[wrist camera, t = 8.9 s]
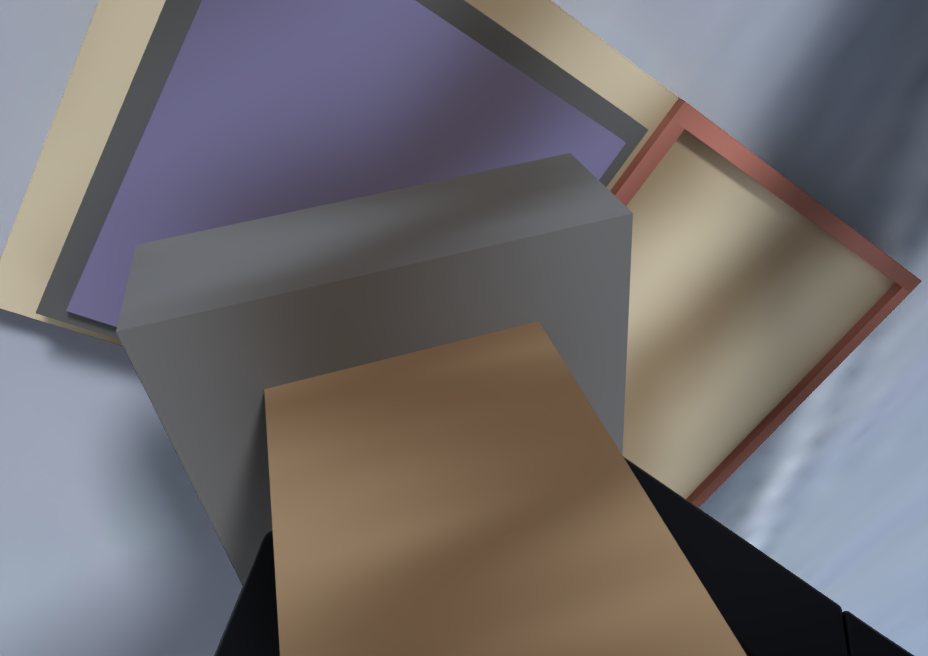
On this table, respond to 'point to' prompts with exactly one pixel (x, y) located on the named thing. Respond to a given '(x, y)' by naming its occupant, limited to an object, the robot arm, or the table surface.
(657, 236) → the board
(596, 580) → the stamp
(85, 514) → the table surface
